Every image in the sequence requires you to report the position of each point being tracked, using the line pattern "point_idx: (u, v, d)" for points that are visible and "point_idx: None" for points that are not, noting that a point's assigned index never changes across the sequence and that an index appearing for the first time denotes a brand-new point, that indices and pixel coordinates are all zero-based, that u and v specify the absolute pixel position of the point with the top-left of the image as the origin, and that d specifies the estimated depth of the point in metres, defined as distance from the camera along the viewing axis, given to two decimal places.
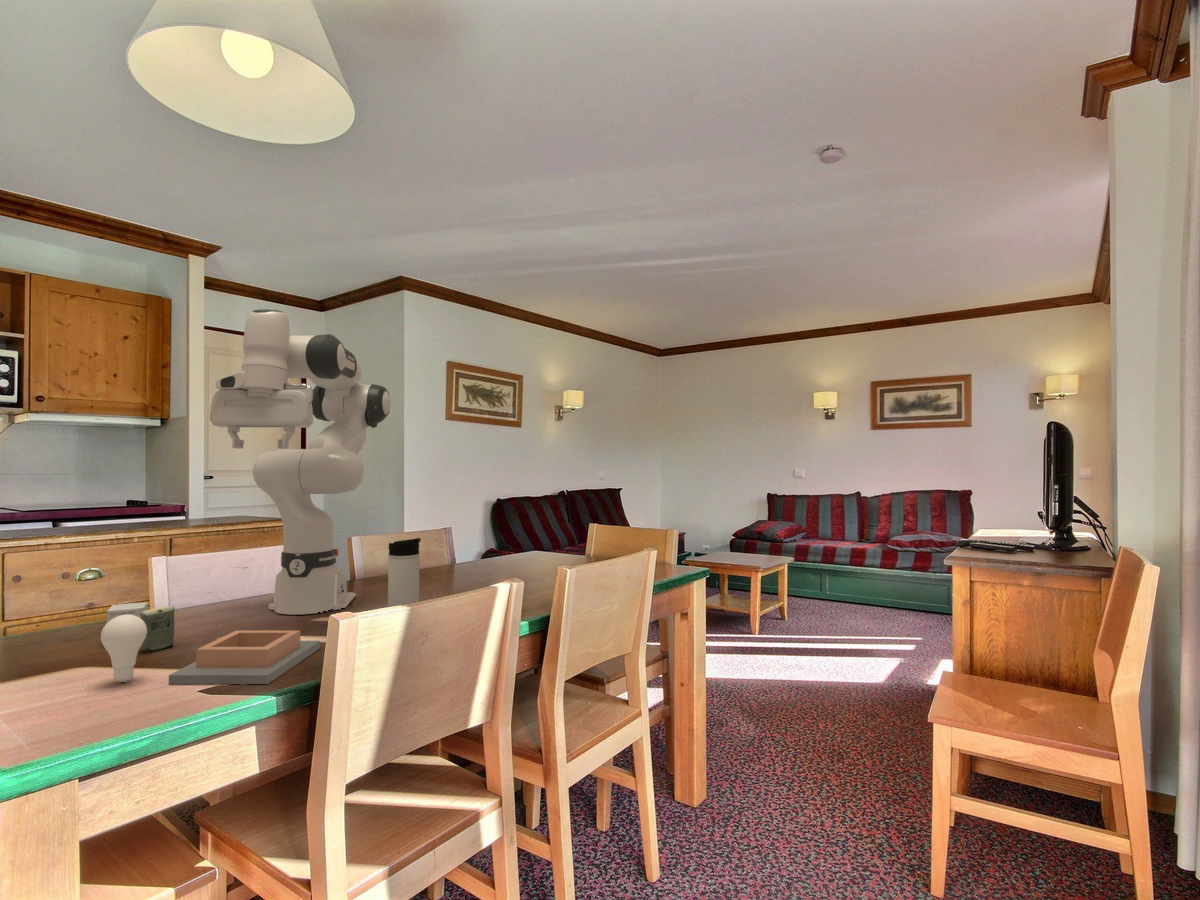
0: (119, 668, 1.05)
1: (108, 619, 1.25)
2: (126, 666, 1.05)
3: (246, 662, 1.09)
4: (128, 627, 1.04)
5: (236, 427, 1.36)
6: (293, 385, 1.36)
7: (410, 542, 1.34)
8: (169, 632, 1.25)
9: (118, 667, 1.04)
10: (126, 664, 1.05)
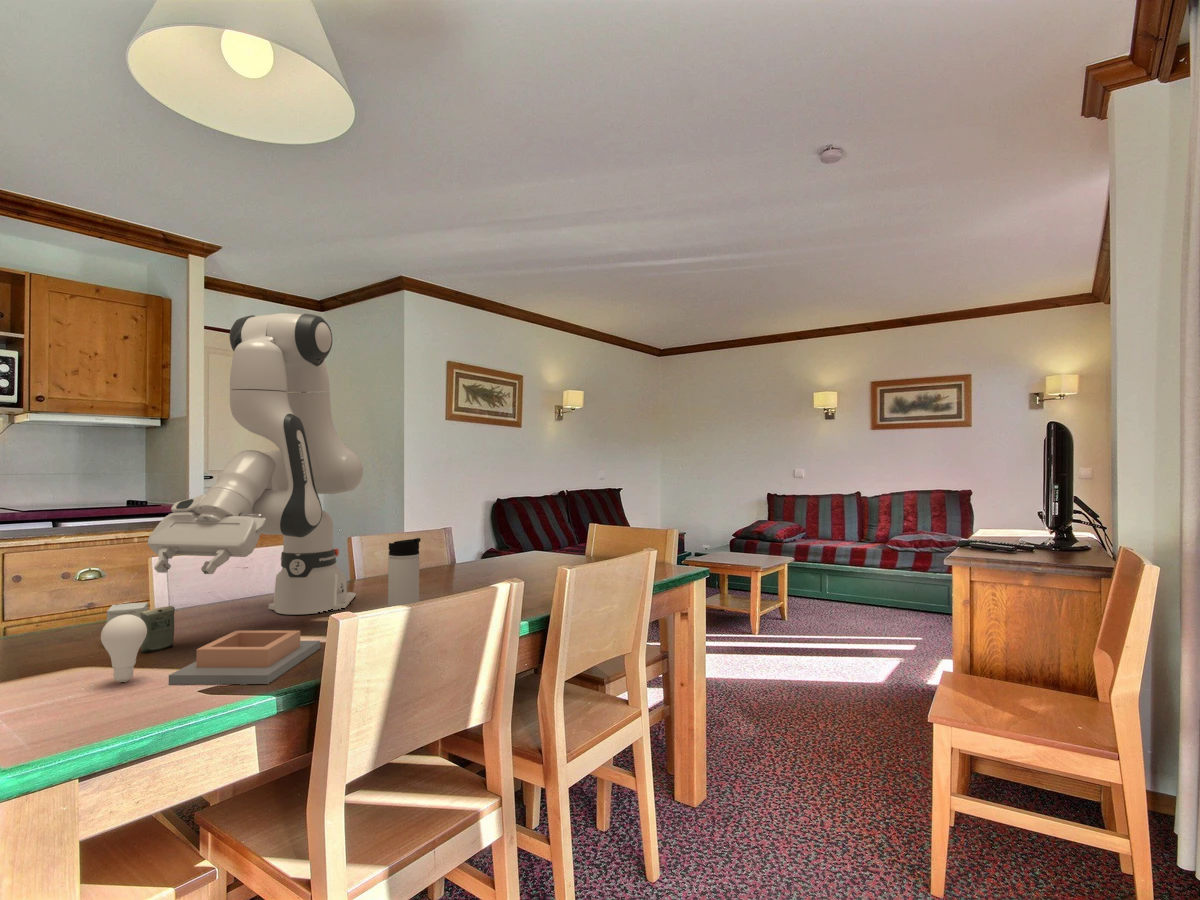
0: (119, 668, 1.05)
1: (108, 619, 1.25)
2: (126, 666, 1.05)
3: (246, 662, 1.09)
4: (128, 627, 1.04)
5: (170, 550, 1.22)
6: (248, 514, 1.27)
7: (410, 542, 1.34)
8: (169, 632, 1.25)
9: (118, 667, 1.04)
10: (126, 664, 1.05)
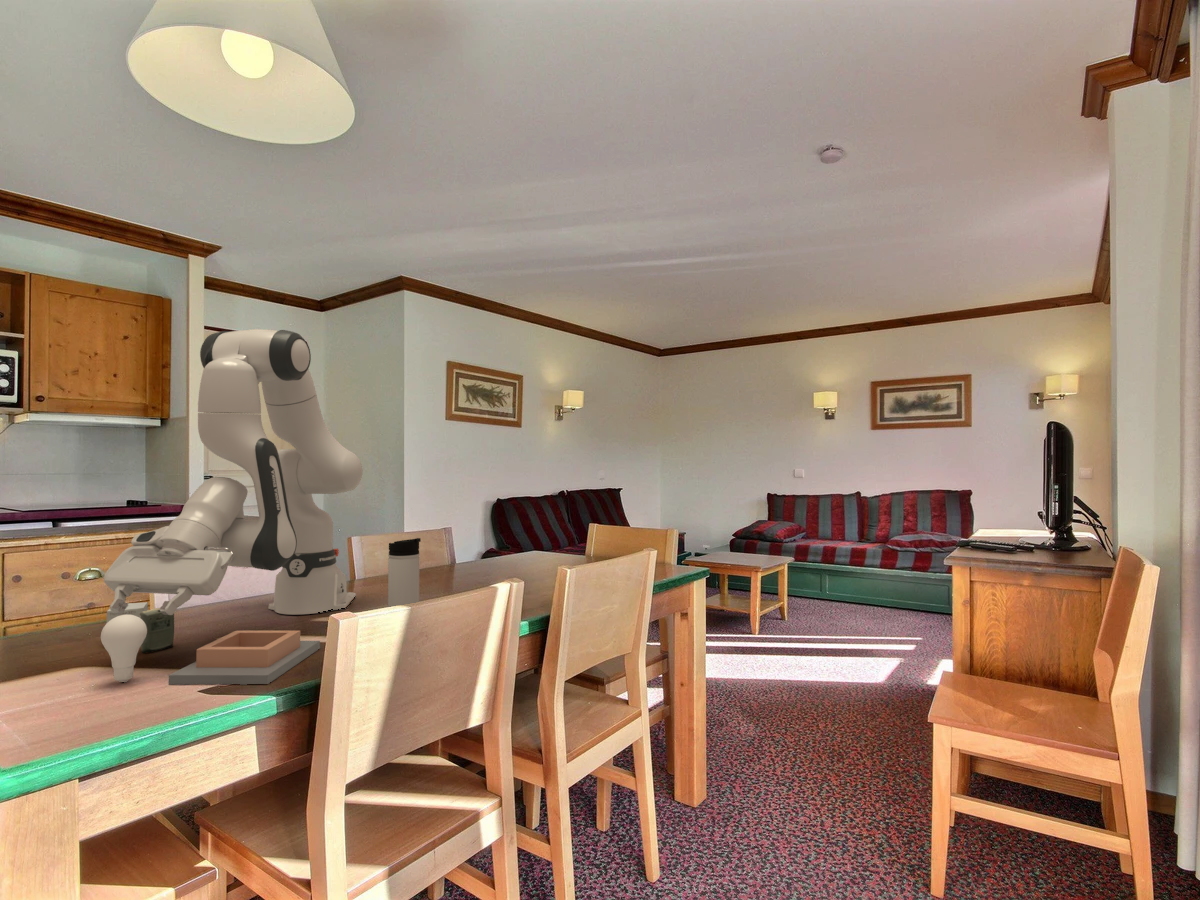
0: (119, 668, 1.05)
1: (108, 619, 1.25)
2: (126, 666, 1.05)
3: (246, 662, 1.09)
4: (128, 627, 1.04)
5: (128, 588, 1.13)
6: (214, 548, 1.18)
7: (410, 542, 1.34)
8: (169, 632, 1.25)
9: (118, 667, 1.04)
10: (126, 664, 1.05)
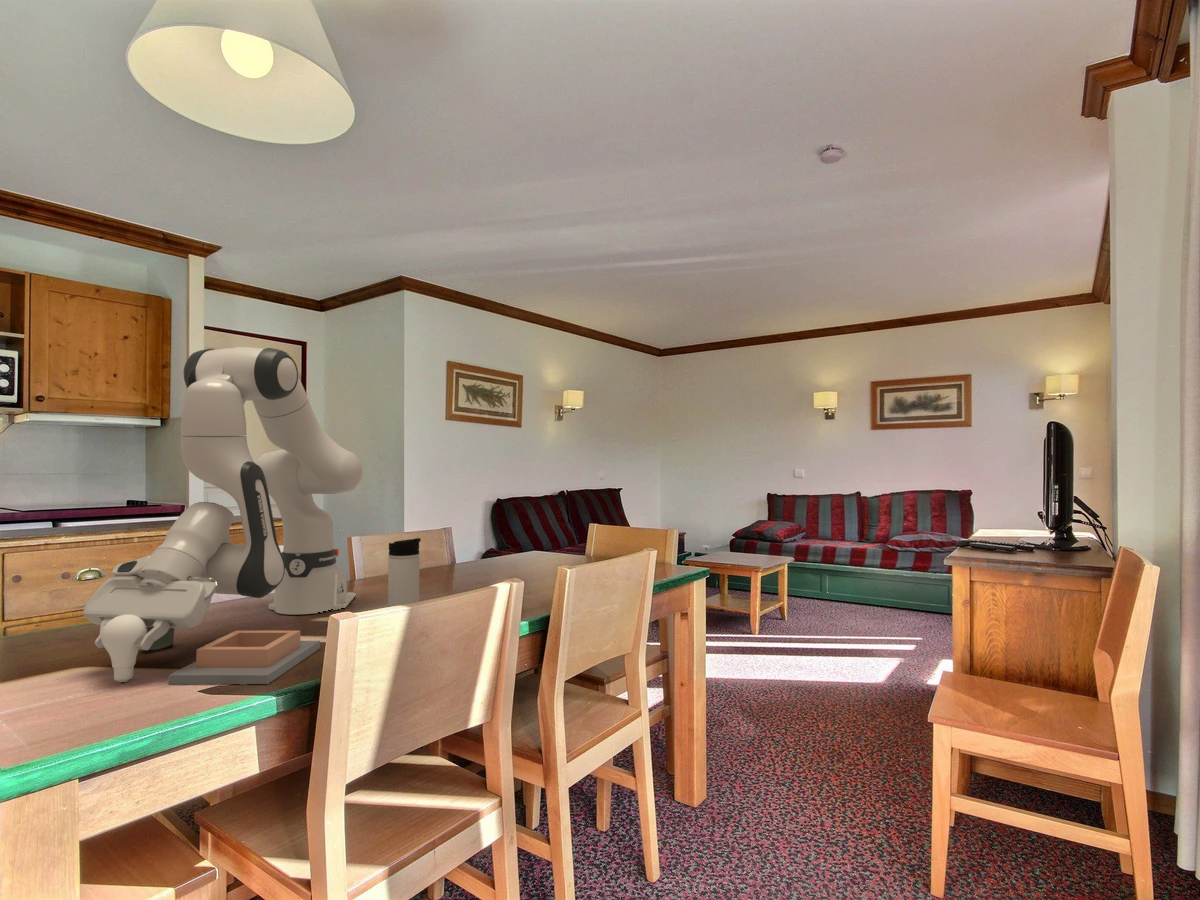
0: (119, 668, 1.05)
1: None
2: (126, 666, 1.05)
3: (246, 662, 1.09)
4: (128, 627, 1.04)
5: None
6: (198, 578, 1.14)
7: (410, 542, 1.34)
8: (169, 632, 1.25)
9: (118, 667, 1.04)
10: (126, 664, 1.05)
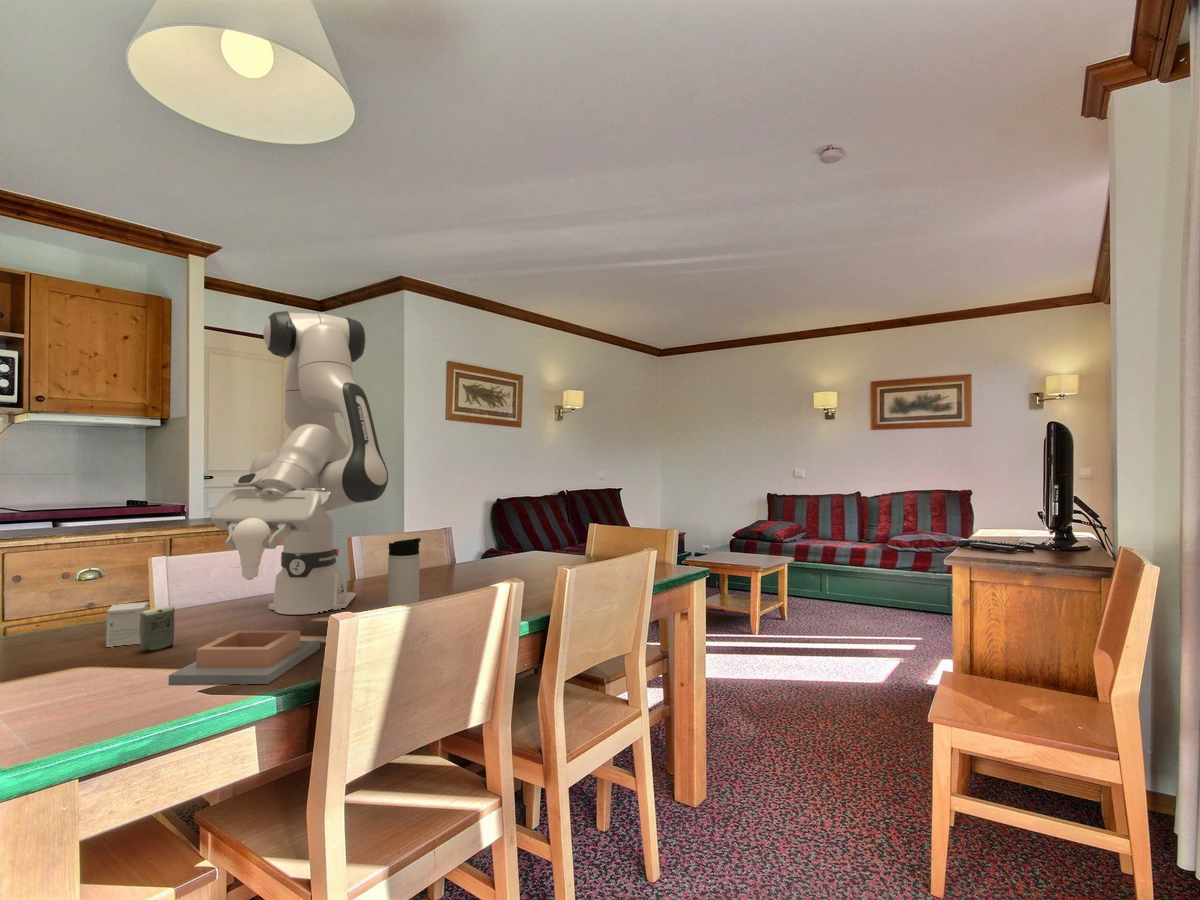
0: (248, 566, 1.14)
1: (108, 619, 1.25)
2: (254, 564, 1.14)
3: (246, 662, 1.09)
4: (258, 528, 1.13)
5: None
6: (312, 489, 1.23)
7: (410, 542, 1.34)
8: (169, 632, 1.25)
9: (247, 564, 1.14)
10: (254, 562, 1.14)
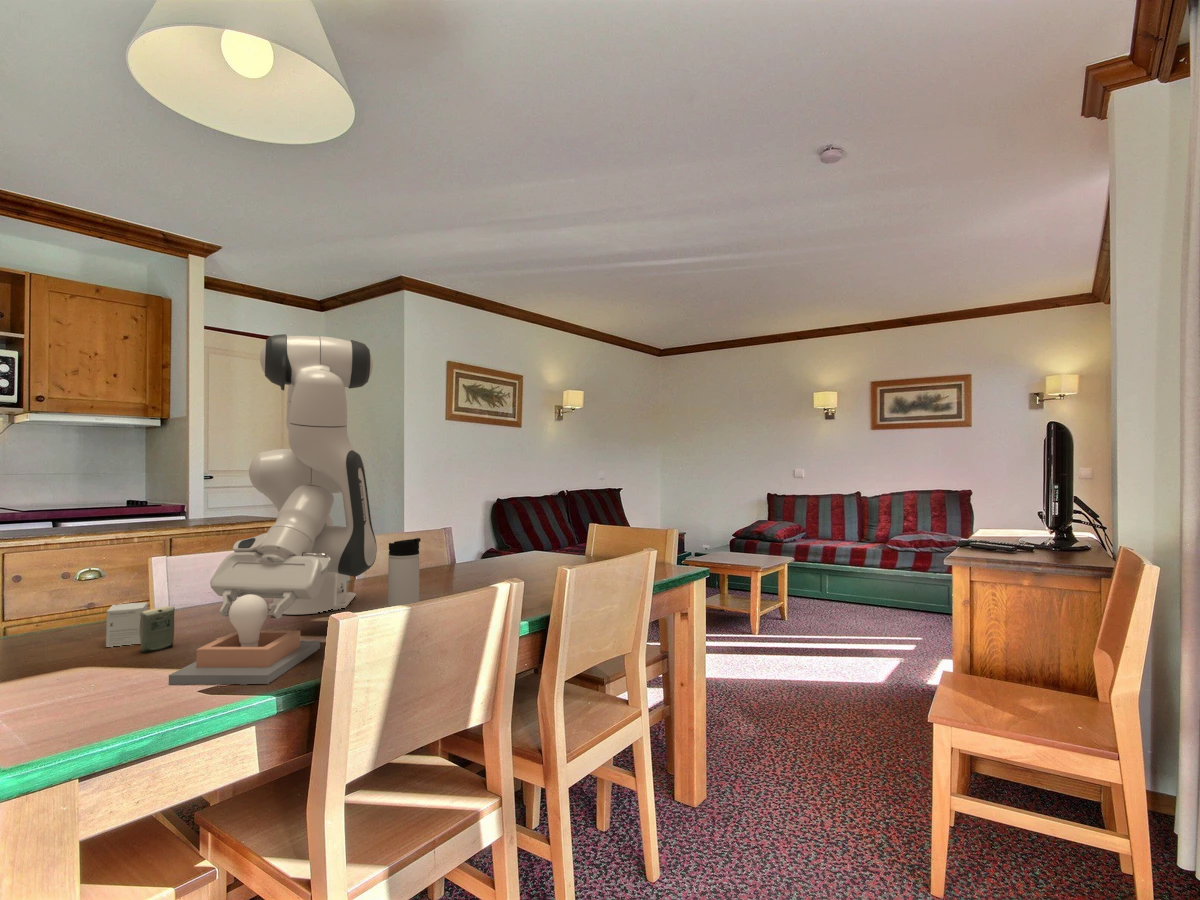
0: (246, 644, 1.14)
1: (108, 619, 1.25)
2: (252, 641, 1.14)
3: (246, 662, 1.09)
4: (253, 606, 1.13)
5: (234, 593, 1.18)
6: (312, 554, 1.23)
7: (410, 542, 1.34)
8: (169, 632, 1.25)
9: (245, 642, 1.13)
10: (252, 640, 1.14)
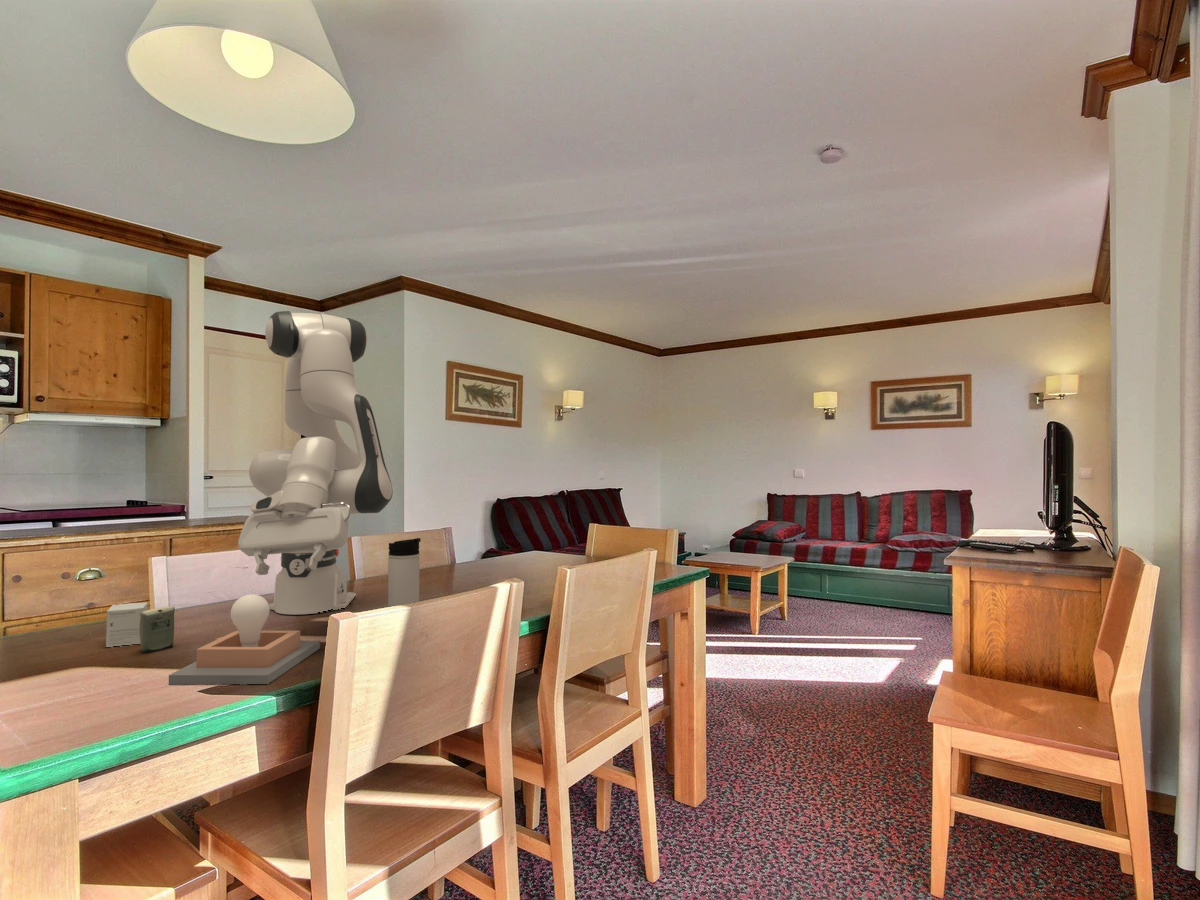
0: (247, 644, 1.14)
1: (108, 619, 1.25)
2: (253, 641, 1.14)
3: (246, 662, 1.09)
4: (255, 606, 1.13)
5: (264, 552, 1.23)
6: (331, 504, 1.27)
7: (410, 542, 1.34)
8: (169, 632, 1.25)
9: (246, 642, 1.13)
10: (253, 640, 1.14)
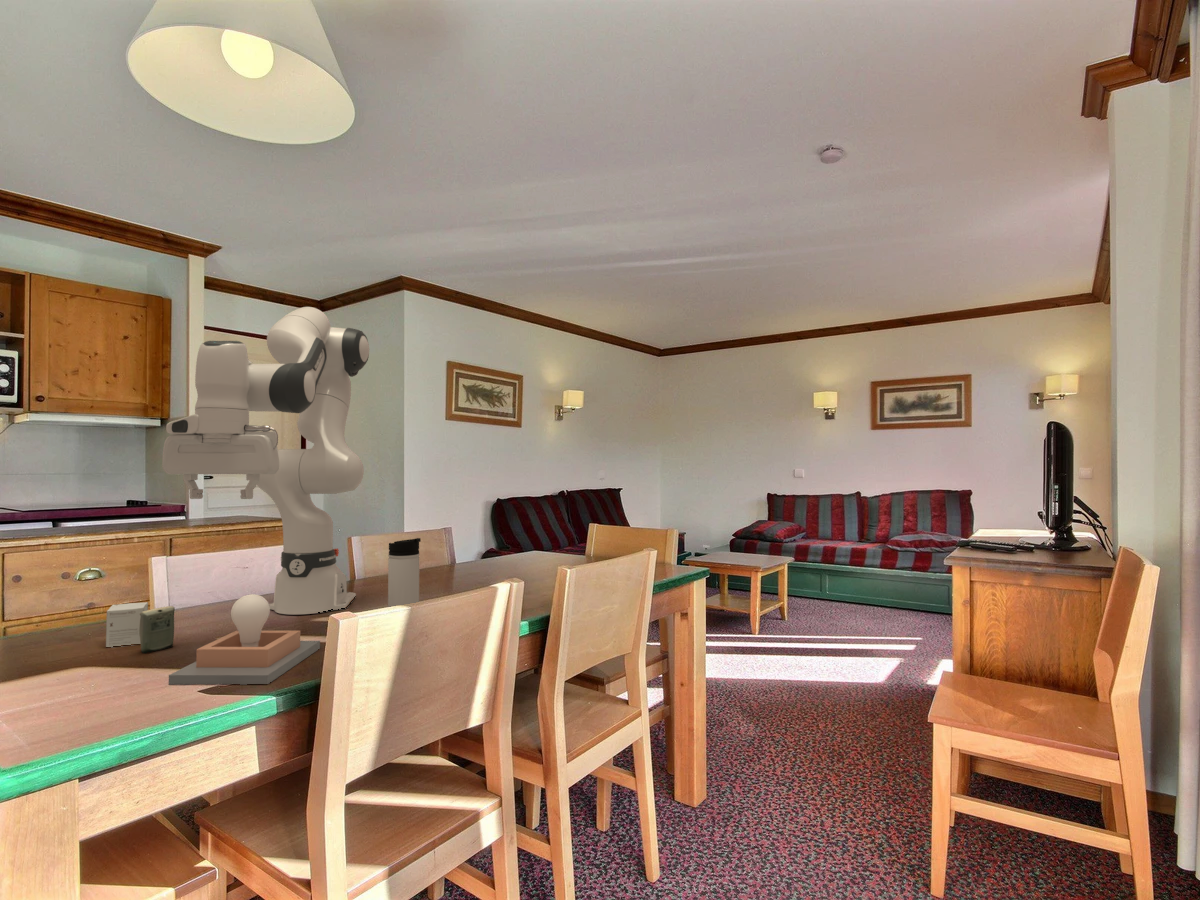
0: (247, 644, 1.14)
1: (108, 619, 1.25)
2: (253, 641, 1.14)
3: (246, 662, 1.09)
4: (255, 606, 1.13)
5: (193, 475, 1.21)
6: (255, 427, 1.21)
7: (410, 542, 1.34)
8: (169, 632, 1.25)
9: (246, 642, 1.13)
10: (253, 640, 1.14)
